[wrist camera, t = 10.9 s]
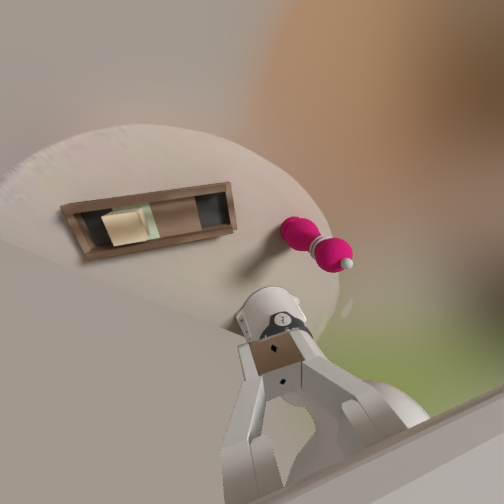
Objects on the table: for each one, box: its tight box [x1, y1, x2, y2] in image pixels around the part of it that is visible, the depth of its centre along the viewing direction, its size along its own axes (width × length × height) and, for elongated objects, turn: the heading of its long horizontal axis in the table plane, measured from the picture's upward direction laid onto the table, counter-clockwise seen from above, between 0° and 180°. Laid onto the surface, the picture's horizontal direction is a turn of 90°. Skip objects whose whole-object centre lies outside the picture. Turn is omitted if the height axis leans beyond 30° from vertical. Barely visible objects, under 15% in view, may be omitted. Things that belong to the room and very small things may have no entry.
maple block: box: [101, 207, 151, 246], centre depth 33 cm, size 5×5×4 cm
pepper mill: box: [281, 217, 353, 273], centre depth 38 cm, size 7×7×20 cm
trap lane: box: [60, 182, 237, 260], centre depth 36 cm, size 9×28×4 cm, turn 96°
